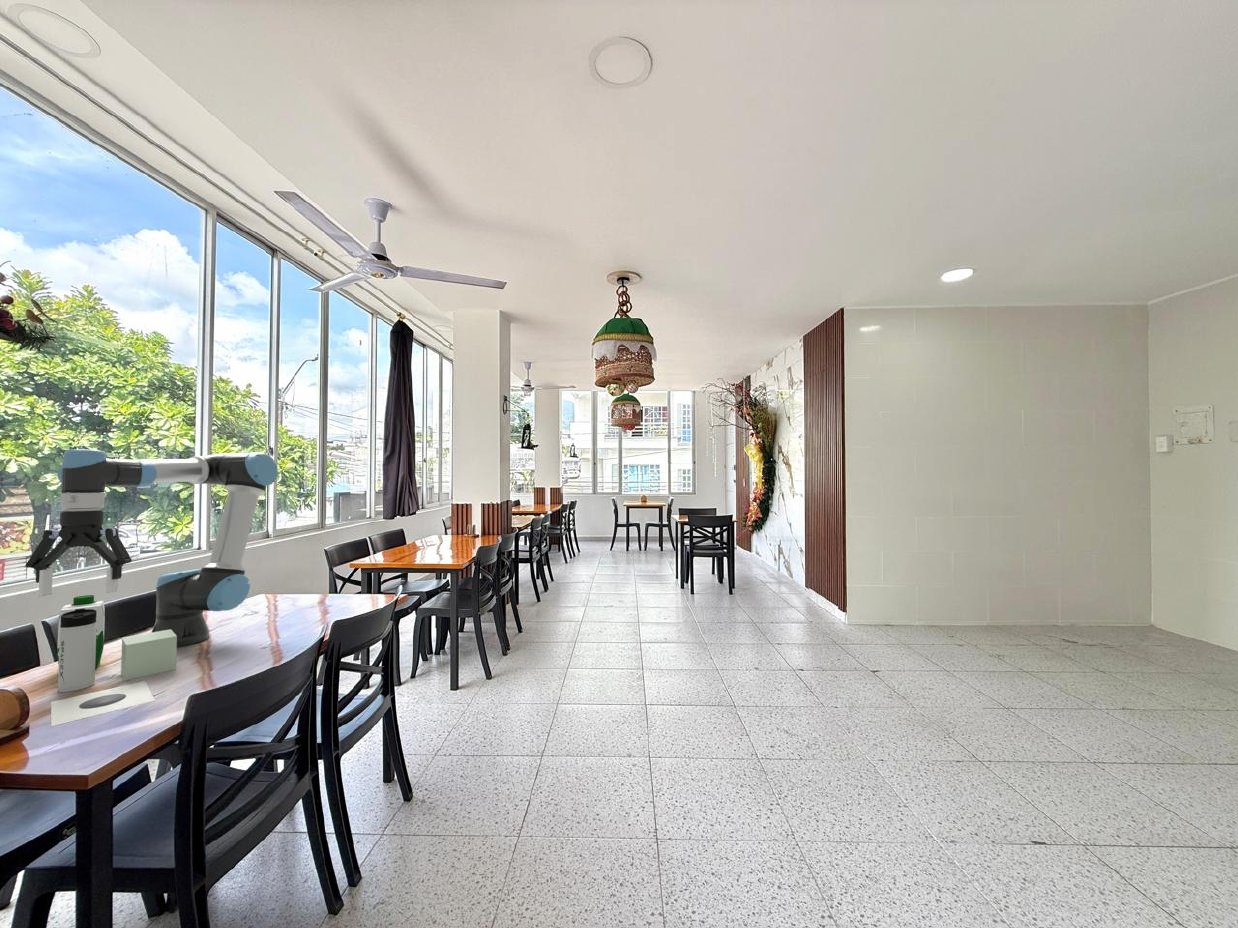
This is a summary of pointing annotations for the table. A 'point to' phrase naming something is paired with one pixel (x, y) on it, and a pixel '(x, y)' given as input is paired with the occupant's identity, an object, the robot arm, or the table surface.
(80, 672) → the travel mug
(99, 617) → the milk carton
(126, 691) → the board
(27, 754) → the table surface
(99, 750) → the table surface
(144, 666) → the mint green block
